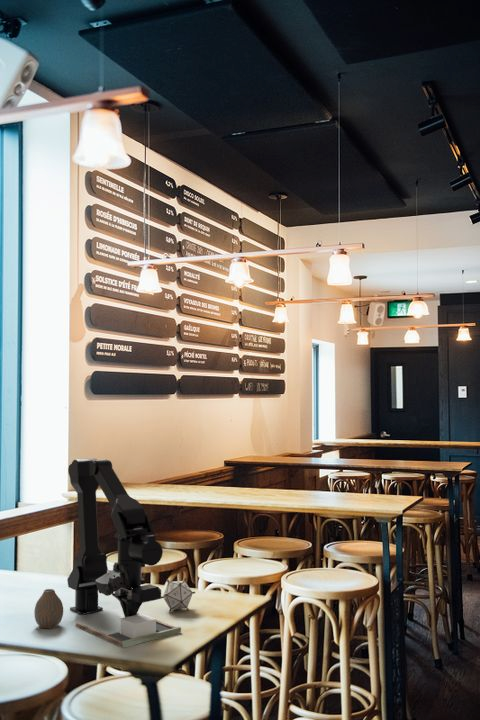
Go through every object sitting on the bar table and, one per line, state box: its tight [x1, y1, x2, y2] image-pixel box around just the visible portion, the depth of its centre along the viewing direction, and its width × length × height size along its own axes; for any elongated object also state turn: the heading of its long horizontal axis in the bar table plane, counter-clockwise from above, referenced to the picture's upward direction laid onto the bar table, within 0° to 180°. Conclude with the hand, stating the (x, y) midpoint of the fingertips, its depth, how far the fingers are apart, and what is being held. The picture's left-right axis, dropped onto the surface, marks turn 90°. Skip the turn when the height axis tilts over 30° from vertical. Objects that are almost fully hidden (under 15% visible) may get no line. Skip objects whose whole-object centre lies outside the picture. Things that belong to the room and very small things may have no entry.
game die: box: [160, 577, 196, 613], centre depth 202 cm, size 9×8×10 cm
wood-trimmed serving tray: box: [75, 612, 182, 648], centre depth 185 cm, size 21×16×1 cm
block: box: [119, 613, 157, 638], centre depth 181 cm, size 6×6×4 cm
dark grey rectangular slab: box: [108, 623, 170, 641], centre depth 181 cm, size 6×14×1 cm, turn 132°
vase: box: [33, 588, 64, 630], centre depth 188 cm, size 7×7×9 cm
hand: (129, 623), depth 185 cm, fingers closed
